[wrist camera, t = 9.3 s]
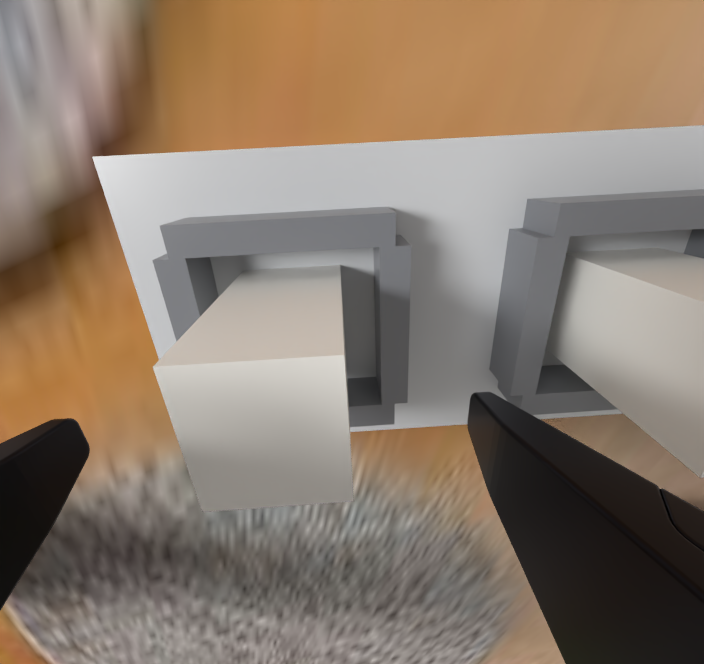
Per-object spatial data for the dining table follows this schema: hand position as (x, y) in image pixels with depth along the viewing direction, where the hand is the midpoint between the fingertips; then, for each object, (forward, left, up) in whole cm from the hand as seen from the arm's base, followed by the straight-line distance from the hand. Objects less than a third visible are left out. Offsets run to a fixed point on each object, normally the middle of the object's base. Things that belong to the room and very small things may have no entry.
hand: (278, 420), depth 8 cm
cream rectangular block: (0, 0, -6) cm, 6 cm away
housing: (0, -6, -7) cm, 9 cm away
